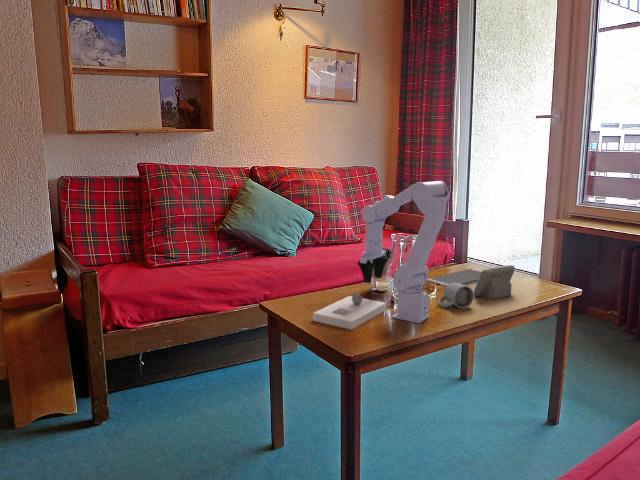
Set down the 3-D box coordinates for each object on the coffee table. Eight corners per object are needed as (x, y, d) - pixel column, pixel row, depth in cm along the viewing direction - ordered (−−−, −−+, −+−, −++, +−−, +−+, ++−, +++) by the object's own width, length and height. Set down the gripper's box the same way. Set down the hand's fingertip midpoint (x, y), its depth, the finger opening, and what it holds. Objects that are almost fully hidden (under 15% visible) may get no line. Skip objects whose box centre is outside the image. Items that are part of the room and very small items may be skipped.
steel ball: (364, 304, 176) (364, 293, 175) (359, 306, 173) (359, 296, 172) (355, 302, 178) (355, 292, 177) (349, 305, 175) (349, 294, 174)
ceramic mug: (459, 300, 189) (460, 279, 187) (473, 307, 181) (474, 285, 180) (433, 303, 185) (434, 282, 184) (446, 311, 178) (447, 288, 176)
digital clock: (504, 289, 202) (506, 262, 200) (520, 296, 194) (523, 267, 192) (467, 293, 197) (469, 265, 195) (482, 300, 189) (484, 271, 187)
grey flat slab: (425, 282, 214) (425, 278, 214) (469, 272, 230) (469, 268, 229) (451, 290, 203) (451, 286, 203) (495, 279, 219) (496, 274, 219)
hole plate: (385, 310, 178) (386, 302, 177) (351, 329, 160) (352, 321, 159) (349, 302, 185) (349, 295, 185) (313, 320, 168) (313, 312, 167)
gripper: (373, 236, 188) (372, 273, 191) (352, 242, 177) (351, 282, 179) (391, 238, 185) (390, 276, 187) (371, 245, 173) (370, 286, 175)
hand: (372, 280), depth 183 cm, fingers open, 7 cm apart
